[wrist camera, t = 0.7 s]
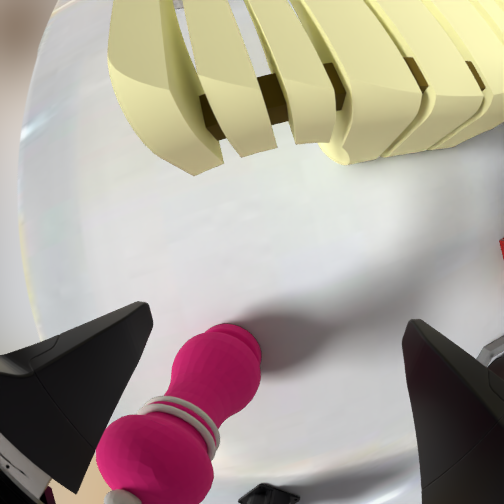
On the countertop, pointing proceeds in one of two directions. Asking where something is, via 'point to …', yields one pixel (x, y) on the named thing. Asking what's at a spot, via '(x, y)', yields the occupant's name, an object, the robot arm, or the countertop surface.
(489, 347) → the octagonal ring
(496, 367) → the vinegar
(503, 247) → the baking soda box
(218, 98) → the slatted curved stool
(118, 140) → the countertop surface
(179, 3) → the brown cookie box
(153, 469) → the pepper mill
